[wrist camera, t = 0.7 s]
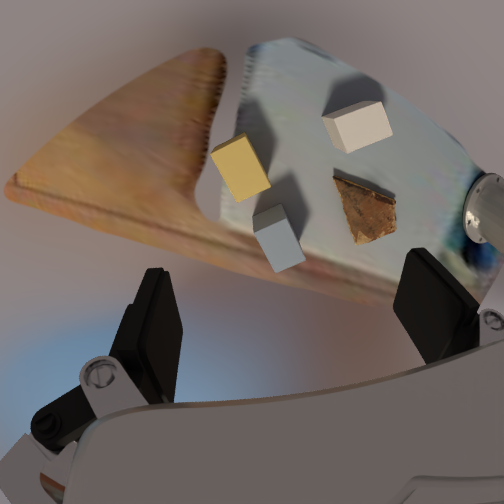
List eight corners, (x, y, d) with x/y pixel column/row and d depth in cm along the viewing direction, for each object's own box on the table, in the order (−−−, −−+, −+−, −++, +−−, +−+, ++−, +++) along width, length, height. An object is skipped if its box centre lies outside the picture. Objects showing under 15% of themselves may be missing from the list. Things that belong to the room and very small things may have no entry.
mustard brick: (214, 147, 32) (210, 154, 28) (245, 132, 32) (245, 136, 27) (237, 189, 35) (237, 202, 31) (267, 175, 34) (271, 186, 30)
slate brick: (252, 216, 37) (253, 233, 32) (280, 203, 36) (286, 218, 32) (271, 253, 39) (275, 273, 35) (298, 241, 39) (305, 260, 34)
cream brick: (363, 100, 30) (381, 101, 25) (374, 129, 31) (392, 135, 27) (321, 116, 31) (333, 119, 26) (333, 146, 33) (347, 153, 28)
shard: (329, 173, 35) (333, 176, 33) (380, 153, 33) (386, 156, 32) (351, 242, 39) (355, 248, 38) (397, 223, 38) (402, 228, 37)
